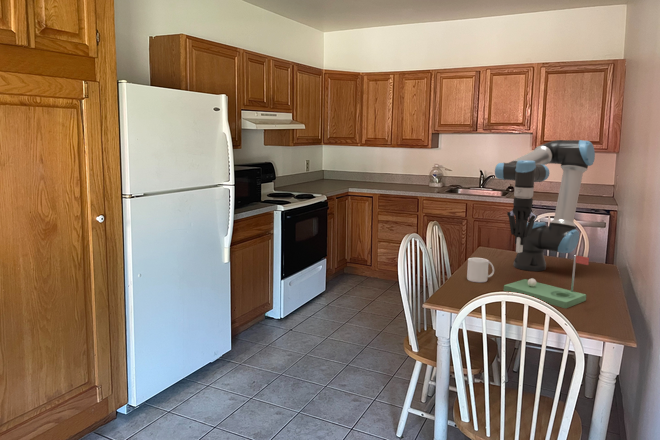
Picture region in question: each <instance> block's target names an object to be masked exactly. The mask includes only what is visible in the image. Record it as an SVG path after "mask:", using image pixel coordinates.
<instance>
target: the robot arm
mask: <svg viewBox="0 0 660 440" xmlns="http://www.w3.org/2000/svg"><path fill="white" fill-rule="evenodd" d="M595 157H596V152H595V147H594V145H593V142H591V141H589V140H583V139H580V140H579V139H570V140H564V139H556V140H552V141H548V142H545V143H543V144H541V145H538V146H537V147H535V148H534V150H533V151H531V152H528V153H527V154H524V155H521V156H520V157H518V158H516V159H514V160H511V161H509V162H499V163H497V164H496V166H495V168H494V176H495V178H496V179H498V180H503V181H514V193H513V196H514V197H513V204H512V205H513V208H512V210H511V211H507V212H506V215H507V217H508V221H509V229H510V234H511V235H512V236H514V237H515V238H514V244H515V253H516V256H515V258H514V261H513V267H514V268H515V269H518V270H522V271H527V272H529V271H530V272H542V271H545V270H547V269H546V268H547V263H546V260H545V255H544V250H545V251H551V252H555V253H560V254H561V253H562V254H570V253H572V252H573V251H574V250H576V248H577V246H578V243H579V240H580V232H579V230H577V229H576V228H577V226H576V224H575V223H574V222H575V221H574V220H575V216H576V211H577V205H578V199H579V194H580V191H581V185H582V180H583V174H584V173H585V172H586V171H588V167H590V166H592V165H594V163H595ZM547 164H551V165H553V164H554V165H560V168H561V169H562V177H561V182H560V186H559V191H558V197H557V203H556V207H555V211H554V217H553V219H552V220H551V221H549V225H547V223H546V222H545V221H536V220H537V219H538V215H537V214H534V213H533V209H532V207H533V201H534V199H533V197H534V187H535V183H542V182H545V181H546V180H548V178H549V177H550V169H549V167H548V166H547Z"/></svg>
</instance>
